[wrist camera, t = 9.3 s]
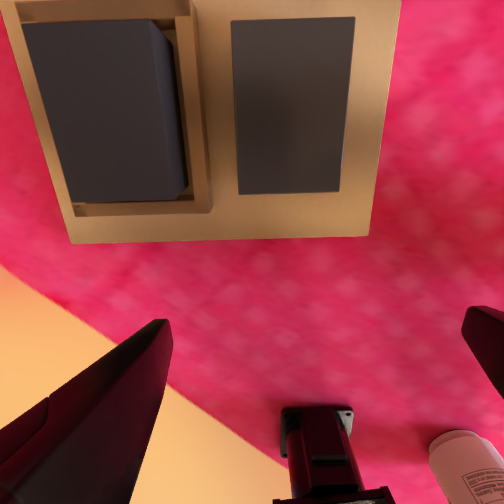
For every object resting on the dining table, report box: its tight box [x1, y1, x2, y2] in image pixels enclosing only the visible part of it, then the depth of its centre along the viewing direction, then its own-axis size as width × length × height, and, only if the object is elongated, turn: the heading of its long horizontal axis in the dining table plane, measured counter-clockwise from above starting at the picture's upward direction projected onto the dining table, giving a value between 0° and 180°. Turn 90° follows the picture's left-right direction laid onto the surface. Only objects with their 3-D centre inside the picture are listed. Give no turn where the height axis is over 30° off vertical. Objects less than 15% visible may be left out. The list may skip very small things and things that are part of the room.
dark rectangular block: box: [21, 19, 189, 203], centre depth 14 cm, size 7×5×4 cm
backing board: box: [0, 0, 402, 244], centre depth 15 cm, size 14×19×4 cm
